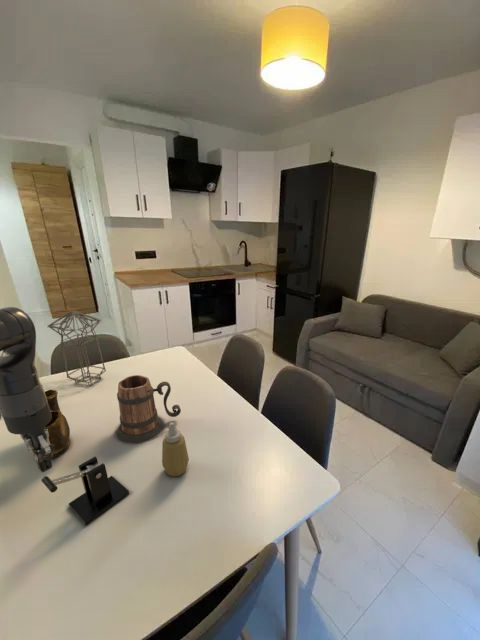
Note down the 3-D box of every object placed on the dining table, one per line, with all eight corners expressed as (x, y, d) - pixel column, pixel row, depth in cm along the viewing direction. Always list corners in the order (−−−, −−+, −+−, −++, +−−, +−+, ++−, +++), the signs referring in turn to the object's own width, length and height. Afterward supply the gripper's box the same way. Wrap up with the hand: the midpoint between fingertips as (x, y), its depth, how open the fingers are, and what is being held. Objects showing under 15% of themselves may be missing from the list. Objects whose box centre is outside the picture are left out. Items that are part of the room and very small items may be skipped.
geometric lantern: (113, 376, 144) (101, 308, 130) (89, 392, 130) (73, 317, 116) (86, 372, 147) (72, 304, 133) (60, 387, 133) (40, 313, 119)
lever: (49, 495, 66) (51, 486, 66) (40, 484, 69) (42, 475, 68) (102, 477, 76) (104, 469, 76) (92, 468, 79) (94, 460, 79)
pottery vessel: (78, 464, 92) (64, 412, 84) (35, 480, 86) (16, 425, 78) (68, 423, 110) (56, 377, 102) (33, 433, 104) (17, 385, 96)
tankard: (116, 448, 99) (106, 398, 91) (116, 420, 113) (107, 375, 105) (185, 431, 109) (181, 385, 101) (177, 407, 123) (173, 365, 115)
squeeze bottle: (190, 459, 96) (187, 414, 89) (188, 478, 89) (185, 431, 82) (165, 461, 95) (159, 416, 88) (161, 481, 88) (155, 433, 80)
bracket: (86, 525, 74) (75, 489, 69) (69, 506, 79) (58, 471, 73) (129, 493, 83) (122, 459, 78) (112, 478, 88) (105, 445, 83)
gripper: (-10, 402, 60) (15, 465, 67) (14, 427, 53) (39, 494, 60) (33, 387, 66) (51, 447, 73) (59, 408, 59) (77, 472, 66)
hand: (46, 468), depth 66 cm, fingers closed
